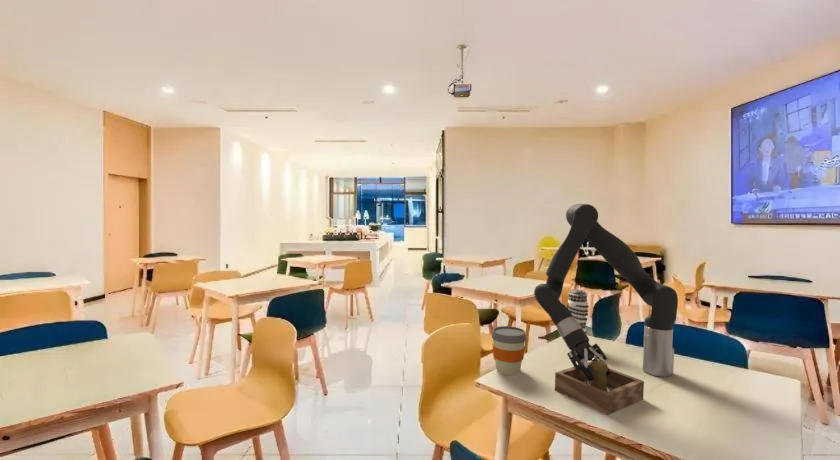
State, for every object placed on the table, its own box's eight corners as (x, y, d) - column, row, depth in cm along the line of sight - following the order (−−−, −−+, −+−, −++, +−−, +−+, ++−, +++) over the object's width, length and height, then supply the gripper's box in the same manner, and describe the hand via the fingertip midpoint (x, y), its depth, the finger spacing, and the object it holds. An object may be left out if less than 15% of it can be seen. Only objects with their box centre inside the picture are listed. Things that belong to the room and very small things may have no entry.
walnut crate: (590, 377, 146) (590, 361, 146) (643, 399, 130) (644, 381, 129) (554, 389, 136) (555, 372, 136) (607, 415, 120) (608, 395, 119)
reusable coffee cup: (531, 369, 153) (532, 330, 152) (514, 380, 143) (515, 338, 143) (502, 360, 161) (503, 324, 160) (484, 370, 152) (485, 330, 151)
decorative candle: (589, 345, 181) (592, 290, 179) (583, 350, 173) (585, 293, 172) (569, 340, 186) (571, 287, 185) (562, 346, 179) (564, 290, 178)
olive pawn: (610, 399, 129) (611, 366, 129) (590, 397, 130) (591, 364, 130) (605, 391, 135) (606, 359, 135) (586, 389, 136) (587, 357, 136)
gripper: (565, 330, 135) (594, 376, 126) (591, 324, 142) (621, 367, 133) (552, 341, 140) (579, 386, 130) (578, 335, 147) (606, 377, 138)
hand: (600, 377), depth 132 cm, fingers open, 8 cm apart
